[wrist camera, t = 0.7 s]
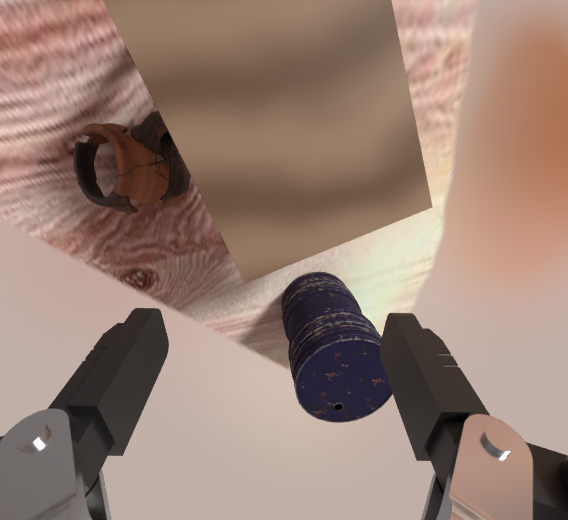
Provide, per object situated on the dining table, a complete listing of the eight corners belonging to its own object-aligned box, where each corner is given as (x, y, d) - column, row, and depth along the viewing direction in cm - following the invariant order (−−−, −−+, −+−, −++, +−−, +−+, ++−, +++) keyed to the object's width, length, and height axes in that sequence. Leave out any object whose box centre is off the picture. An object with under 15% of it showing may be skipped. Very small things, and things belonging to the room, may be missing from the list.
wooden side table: (150, 11, 27) (19, -167, 12) (286, -53, 27) (326, -325, 11) (249, 227, 35) (245, 283, 20) (355, 183, 35) (432, 207, 20)
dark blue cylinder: (290, 264, 38) (310, 329, 24) (359, 277, 39) (416, 346, 25) (273, 328, 41) (282, 418, 27) (338, 337, 42) (378, 428, 28)
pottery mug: (171, 226, 35) (106, 235, 28) (127, 171, 36) (54, 165, 29) (225, 149, 30) (162, 134, 22) (172, 87, 31) (96, 54, 24)
